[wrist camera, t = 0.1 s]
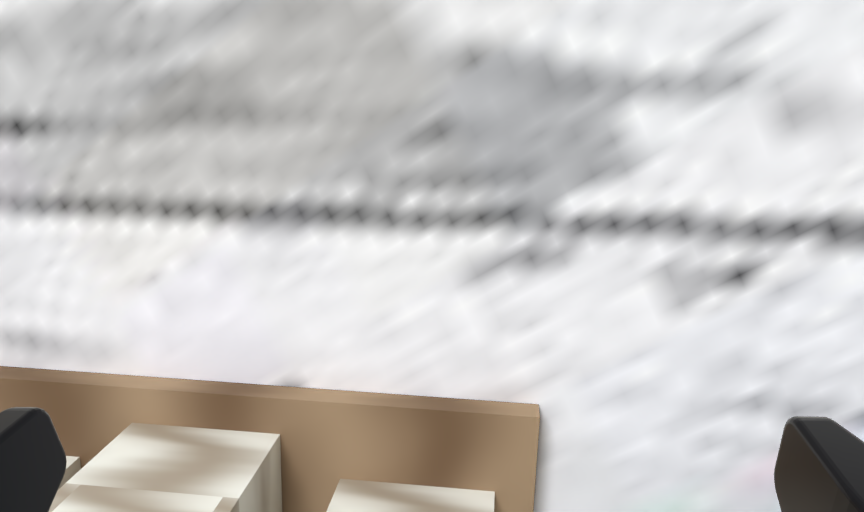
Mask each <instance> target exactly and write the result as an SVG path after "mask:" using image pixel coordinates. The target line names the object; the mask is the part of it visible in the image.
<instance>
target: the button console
mask: <svg viewBox="0 0 864 512" xmlns="http://www.w3.org/2000/svg"><path fill="white" fill-rule="evenodd" d="M13 407H38V408H41V409H44V410H45V411H46V412H47V413H48V414H49V416H50V418H51V420H52V422H53V425H54V427H55V430H56V432H57V434H58V437H59V439H60V441H61V444H62V446H63V449H64V451H65V454H66V460H67V463H66V470H65V474H64V477H63V479H62V481H61V484H60V486H59V488H58V491H57V493H56V495H55V498H54V500H53V502H52V505H51V507H50V509H49V512H533V506H534V492H535V478H536V464H537V450H538V436H539V423H540V414H539V405H538V404H524V403H510V402H496V401H482V400H468V399H454V398H440V397H426V396H412V395H398V394H384V393H370V392H356V391H342V390H328V389H314V388H300V387H286V386H271V385H257V384H243V383H229V382H215V381H201V380H187V379H173V378H159V377H145V376H131V375H117V374H103V373H89V372H75V371H61V370H47V369H33V368H19V367H5V366H0V412H2V411H4V410H6V409H9V408H13Z"/></svg>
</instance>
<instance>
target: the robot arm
mask: <svg viewBox="0 0 864 512" xmlns="http://www.w3.org/2000/svg"><path fill="white" fill-rule="evenodd" d="M66 463H67V460H66V454H65V451H64V449H63V446H62V444H61V441H60V439H59V437H58V434H57V432H56V430H55V427H54V425H53V422H52V420H51V418H50V416H49V414H48V413H47V412H46V411H45V410H44V409H41V408H38V407H13V408H9V409H6V410H4V411H2V412H0V512H49V509H50V507H51V505H52V502H53V500H54V498H55V495H56V493H57V491H58V488H59V486H60V484H61V481H62V479H63V477H64V474H65V470H66ZM774 482H775V489H776V493H777V497H778V500H779V504H780V508H781V511H782V512H864V442H863V441H862V440H860V439H859V438H858V437H856V436H855V435H853V434H852V433H851V432H849V431H848V430H846V429H845V428H843V427H842V426H841V425H839V424H838V423H836V422H835V421H833V420H831V419H829V418H827V417H802V416H796V417H792V418H790V419H788V421H787V422H786V424H785V427H784V431H783V435H782V439H781V444H780V448H779V452H778V457H777V461H776V465H775V471H774Z"/></svg>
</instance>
